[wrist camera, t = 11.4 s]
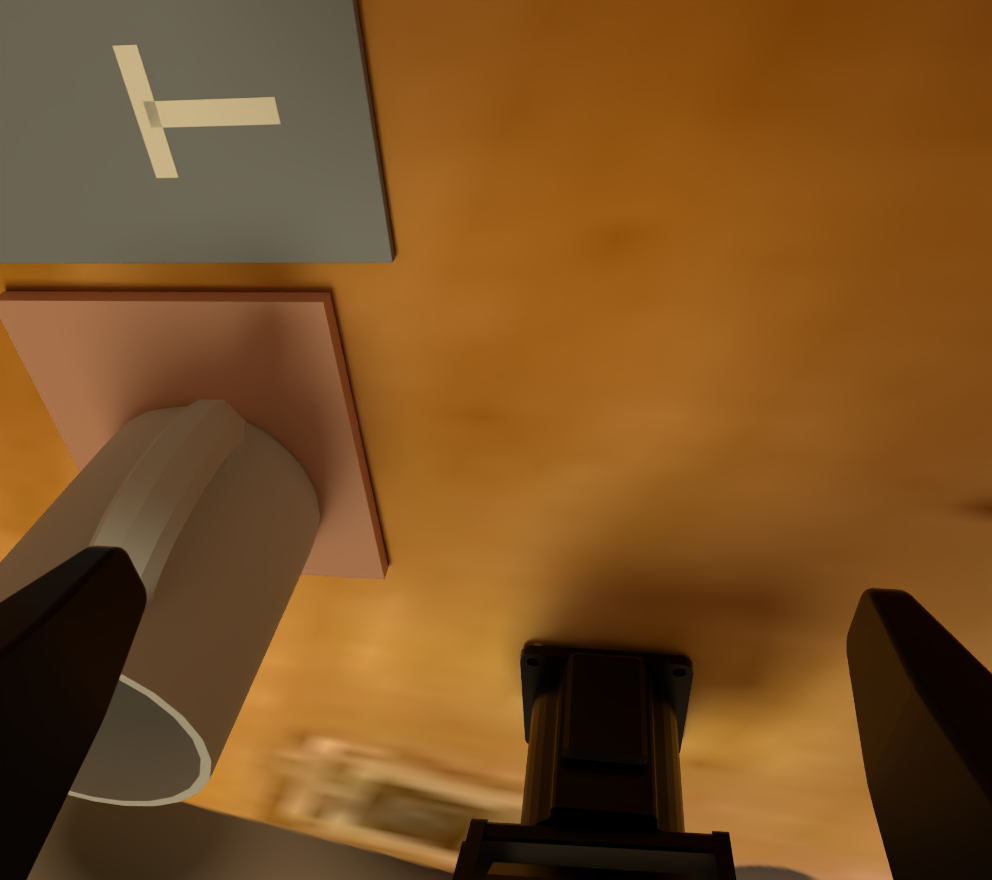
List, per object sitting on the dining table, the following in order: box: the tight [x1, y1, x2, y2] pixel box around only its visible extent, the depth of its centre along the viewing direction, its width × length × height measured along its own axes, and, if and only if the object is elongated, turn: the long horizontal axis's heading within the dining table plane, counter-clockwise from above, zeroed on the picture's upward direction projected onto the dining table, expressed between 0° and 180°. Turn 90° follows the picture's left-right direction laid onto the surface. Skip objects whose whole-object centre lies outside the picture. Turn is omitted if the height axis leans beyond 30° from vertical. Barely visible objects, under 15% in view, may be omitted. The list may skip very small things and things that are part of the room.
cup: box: [0, 399, 320, 806], centre depth 20 cm, size 7×10×9 cm
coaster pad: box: [0, 291, 388, 579], centre depth 24 cm, size 11×10×1 cm
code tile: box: [0, 0, 395, 264], centre depth 17 cm, size 12×14×1 cm
